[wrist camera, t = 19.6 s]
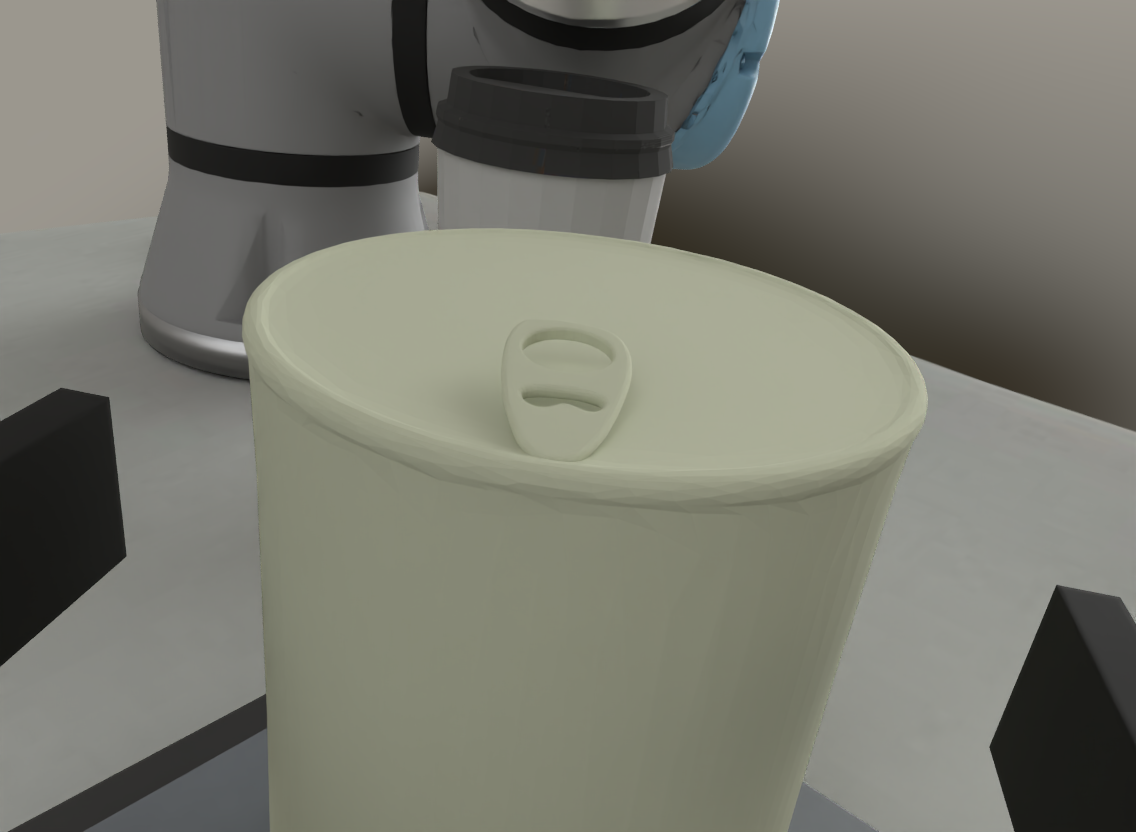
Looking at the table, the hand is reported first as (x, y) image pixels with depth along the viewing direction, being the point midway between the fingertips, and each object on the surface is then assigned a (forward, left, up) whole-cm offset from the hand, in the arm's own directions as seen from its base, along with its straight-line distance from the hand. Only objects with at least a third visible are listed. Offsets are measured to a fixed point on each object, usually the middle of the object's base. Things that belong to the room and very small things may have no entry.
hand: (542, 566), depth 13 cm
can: (-1, +1, -8) cm, 9 cm away
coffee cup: (-15, +16, -11) cm, 25 cm away
